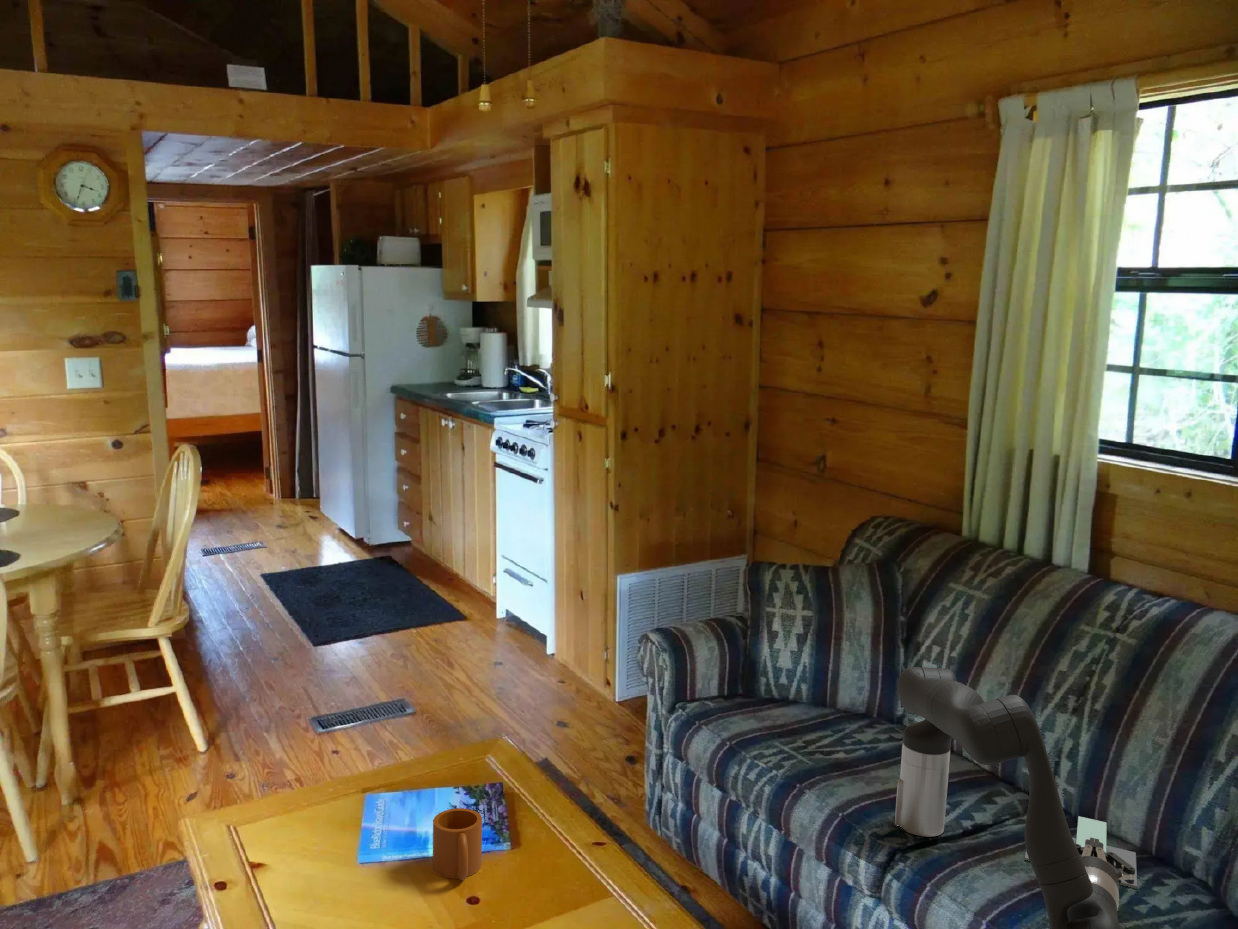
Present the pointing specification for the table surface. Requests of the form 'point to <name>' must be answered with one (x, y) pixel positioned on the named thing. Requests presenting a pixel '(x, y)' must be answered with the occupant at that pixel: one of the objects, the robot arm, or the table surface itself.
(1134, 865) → the mat
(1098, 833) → the tall block
